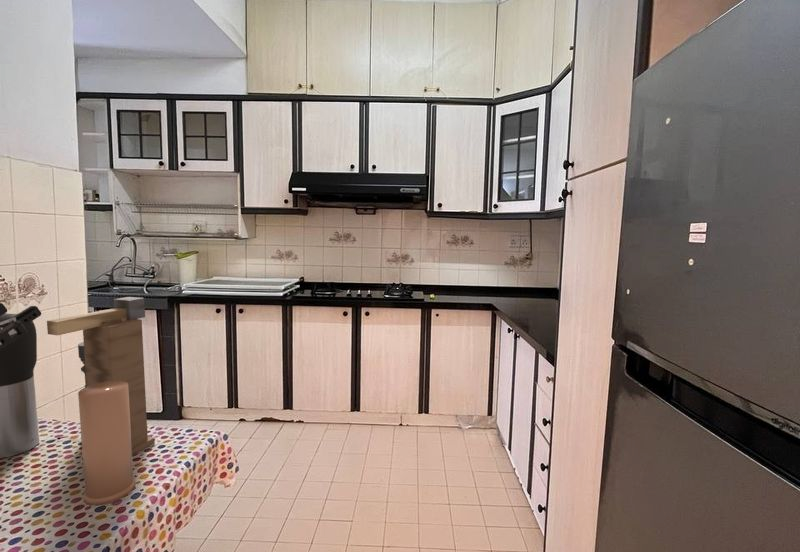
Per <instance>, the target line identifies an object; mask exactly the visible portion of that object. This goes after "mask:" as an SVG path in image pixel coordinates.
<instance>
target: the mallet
mask: <svg viewBox="0 0 800 552" xmlns="http://www.w3.org/2000/svg"><path fill="white" fill-rule="evenodd" d="M145 309H146V305H145V298H144V297H136V296H135V297H134V296H125V297H120V298H114V299H113V308H109V309H103V310H97V311H92V312H88V313H87V312H86V313H81V314H77V315H71V316H66V317H65V316H64V317H60V318H55V319H49V320H46V328H47V335H52V336H53V335H54V336H62V335H65V334H69V333H70V334H71V333H74V332H75V333H76V332H79V331H83V330H85V329H89V328H94V327H98V326H102V322H104V321H108V320H113V319H118V318H122V321H125V320H135V319H143V318H146V310H145Z"/></svg>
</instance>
